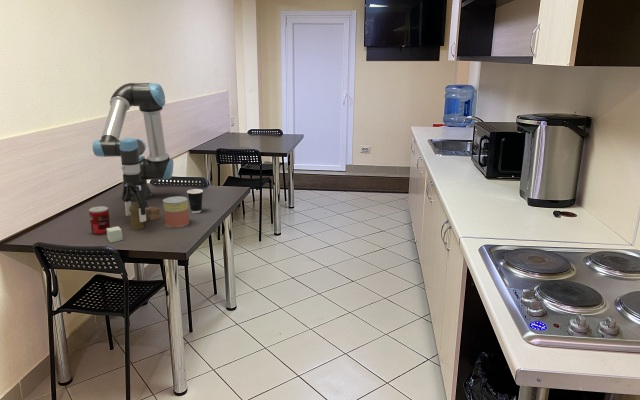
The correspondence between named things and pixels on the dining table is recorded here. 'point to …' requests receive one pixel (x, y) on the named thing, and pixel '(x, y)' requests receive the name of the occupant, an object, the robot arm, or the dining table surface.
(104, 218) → the canned food
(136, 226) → the cork
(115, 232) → the sage cube
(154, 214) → the walnut cube
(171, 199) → the canned food
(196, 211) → the dixie cup
